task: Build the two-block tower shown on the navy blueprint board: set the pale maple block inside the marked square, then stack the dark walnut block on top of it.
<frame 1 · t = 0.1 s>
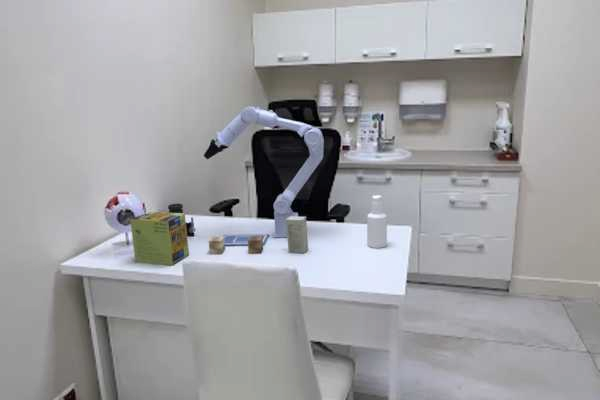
hand: (208, 155, 178), 32 cm above the table, tool tilted 50°, fingers open, 7 cm apart
scope: (180, 238, 184), on the table
walnut block: (256, 251, 166), on the table
blueprint board: (243, 240, 178), on the table
maple block: (217, 252, 167), on the table
protein box: (162, 259, 163), on the table
skincare box: (298, 251, 164), on the table
spray bottle: (377, 245, 167), on the table
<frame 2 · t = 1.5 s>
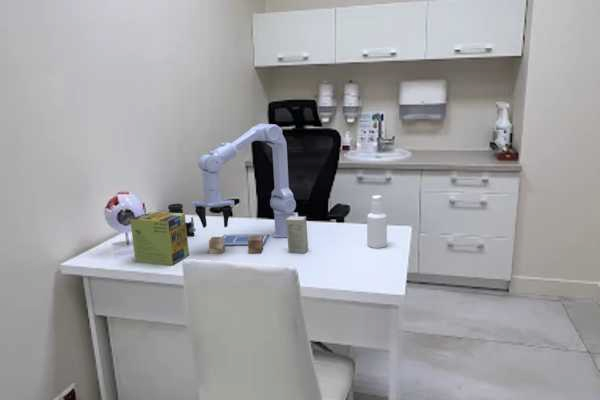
hand: (215, 226, 165), 9 cm above the table, tool pointing down, fingers open, 7 cm apart
nothing on the table moved.
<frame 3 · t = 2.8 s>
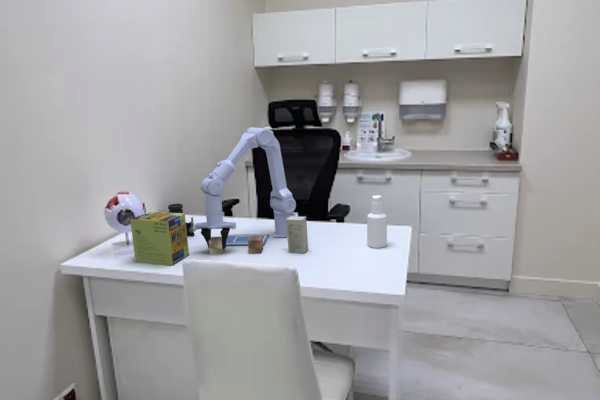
hand: (217, 248, 167), 1 cm above the table, tool pointing down, fingers closed on maple block, 4 cm apart
maple block: (217, 251, 167), on the table, touching gripper
everything else where it was.
when the fingers open (3 cm above the table, at t = 7.5 s): maple block stays where it is, resting on blueprint board.
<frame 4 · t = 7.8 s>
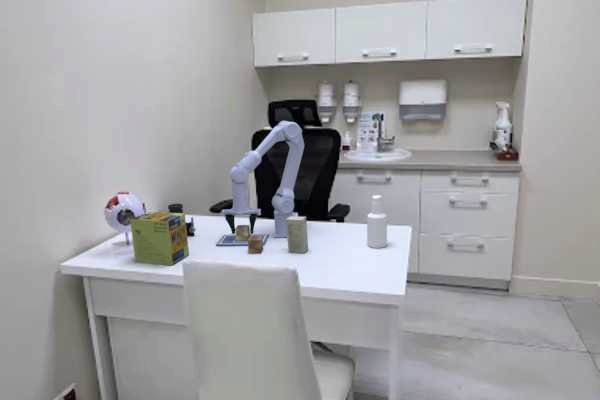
hand: (242, 233, 177), 3 cm above the table, tool pointing down, fingers open, 6 cm apart
maple block: (243, 239, 178), point 1 cm above the table, touching blueprint board
everything else where it was.
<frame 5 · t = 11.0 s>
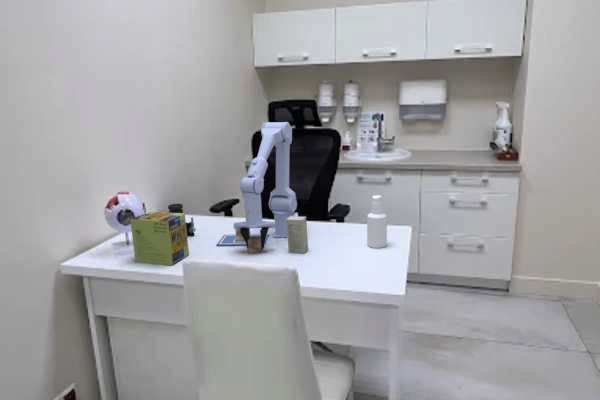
hand: (255, 247, 165), 1 cm above the table, tool pointing down, fingers closed on walnut block, 4 cm apart
walnut block: (256, 251, 166), on the table, touching gripper
everything else where it was.
when the fingers open (8 cm above the table, at t = 15.4 s): walnut block stays where it is, resting on maple block.
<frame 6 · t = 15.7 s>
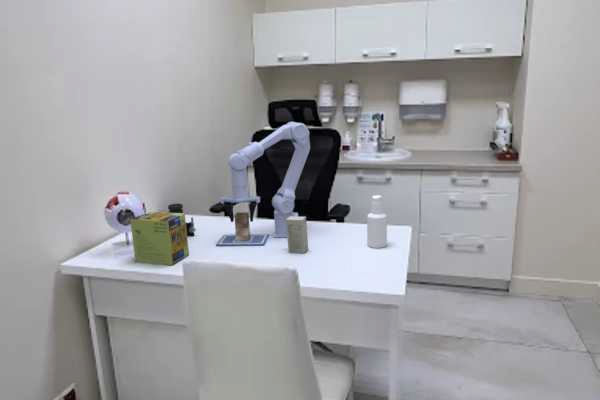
hand: (242, 221, 176), 8 cm above the table, tool pointing down, fingers open, 7 cm apart
walnut block: (242, 226, 177), point 6 cm above the table, touching maple block
maple block: (243, 239, 178), point 1 cm above the table, touching blueprint board, walnut block
everything else where it was.
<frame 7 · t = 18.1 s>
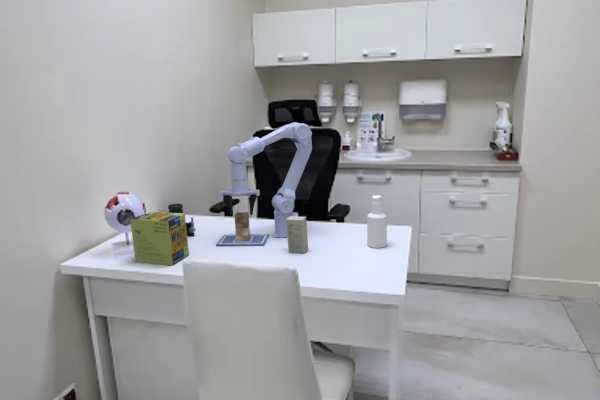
hand: (241, 214, 175), 10 cm above the table, tool pointing down, fingers open, 7 cm apart
nothing on the table moved.
at the end: walnut block 0.0 cm off-centre on the blueprint board, point 5.6 cm above the blueprint board's base; walnut block 0.0 cm from the maple block (horizontally); walnut block tilted 0° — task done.
